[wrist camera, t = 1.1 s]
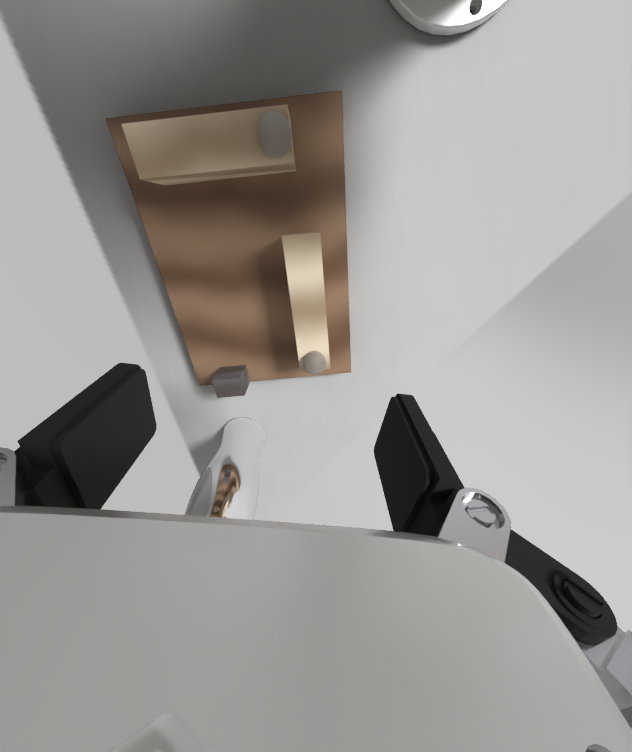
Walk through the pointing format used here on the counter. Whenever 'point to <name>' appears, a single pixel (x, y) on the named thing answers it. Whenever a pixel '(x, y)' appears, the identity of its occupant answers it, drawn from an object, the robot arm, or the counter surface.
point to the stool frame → (242, 226)
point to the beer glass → (231, 474)
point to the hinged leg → (307, 299)
